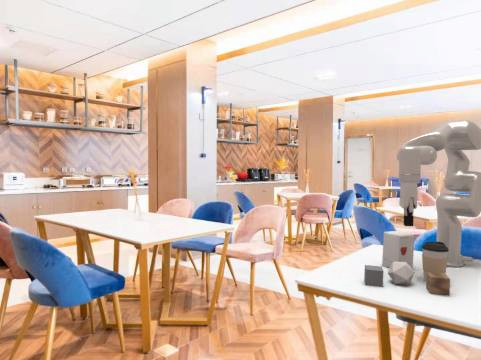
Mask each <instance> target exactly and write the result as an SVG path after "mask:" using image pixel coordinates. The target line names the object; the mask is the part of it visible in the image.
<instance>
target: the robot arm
mask: <svg viewBox="0 0 481 360" xmlns="http://www.w3.org/2000/svg"><path fill="white" fill-rule="evenodd" d="M442 150H444V152H445V154H446V157H447V166H446V171H445V176H444V180H443V181H444V183H443V185H444V188H445V190H447V191H449V192H450V193H442V194H439V195H438V196H437V197H436V199H435V208H436V214H437V215H436V216H437V218H436V219H437V224H436V225H437V227H436V242H443V243H444V244H445V245H446V247H448V248H449V249H448V250H449V251H448V256H447V257H448V260H447V267H451V268H459V267H460V268H461V267H463V266H465V263H464V262H471V263H472V262H473V261H474V260H473V259H474V258H473V257H472V256H468V255H467V256H466V255H462V253H461V250H462V249H461V246H462V228H463V227H462V222H461V220H460V219H459V218H458V217H463V218H464V217H465V218H476V217H479V216H480V214H481V171H475V170H469V169H470V164H471V163H470V159H469V157H468V155H466V154H465V153H464V151H477V150H481V127H479V125H478V124H476V122H474V121H471V120H467V119H466V120H465V119H463V120H451V121H445V122H442V123H441V124H440V125H438V126H437V127H435V128H434V129H433V130H431V132H430V133H427V134H426V133H425V134H423V135H421V136H418V137H415V138H413V139H412V138H411V139H409V140H408V141H406V142H405V143H404V144H402V145H401V146H400V148H399V149H398V150H397V154H396V159H397V162H398V183H400V186H399V188H400V189H399V203H398V204H399V206H400V207H401V208H402V209H403V226H404V227H414V211H415V210H416V209H417V208H418V184H420V183H421V166H430V165H432V164H434V163H435V162H436V160H437V158H438V152H440V151H442ZM451 192H456V193H451ZM460 193H468V194H460Z"/></svg>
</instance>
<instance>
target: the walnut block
mask: <svg viewBox="0 0 481 360" xmlns="http://www.w3.org/2000/svg"><path fill="white" fill-rule="evenodd" d="M450 288H451V278H450V277H449V276H448V275H447V274H446V273H445V274H443V273H432V272H427V278H426V282H425V289H426V290H427V292H428V294H429V295H437V296H447V297H450V293H451V292H450Z"/></svg>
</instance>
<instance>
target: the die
mask: <svg viewBox="0 0 481 360" xmlns="http://www.w3.org/2000/svg"><path fill="white" fill-rule="evenodd" d="M415 274H416V272H415V270H413V269H412V268H411V267H410V266H409V265H408V263H407V262H393V263H392V265H391V267H390V268H389V269H388V271H387V275H388V276H389V277H390V279H391V280H392V281H393V282H394V284H395V285H410V284H411V282H412V280H413V278H414V276H415Z"/></svg>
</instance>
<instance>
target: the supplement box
mask: <svg viewBox="0 0 481 360" xmlns="http://www.w3.org/2000/svg"><path fill="white" fill-rule="evenodd" d="M414 250H415V234H413V233H409V232H405V231H401V230H392V231H391V230H390V231H383V242H382V259H381V261H382V263H381V265H382V266H384V267H387V268H389V269H390V267H391V265H392V263H393V262H407V263H408V265H409V266H410V267H411V268H412V269H413V268H414V253H415V252H414Z"/></svg>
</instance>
